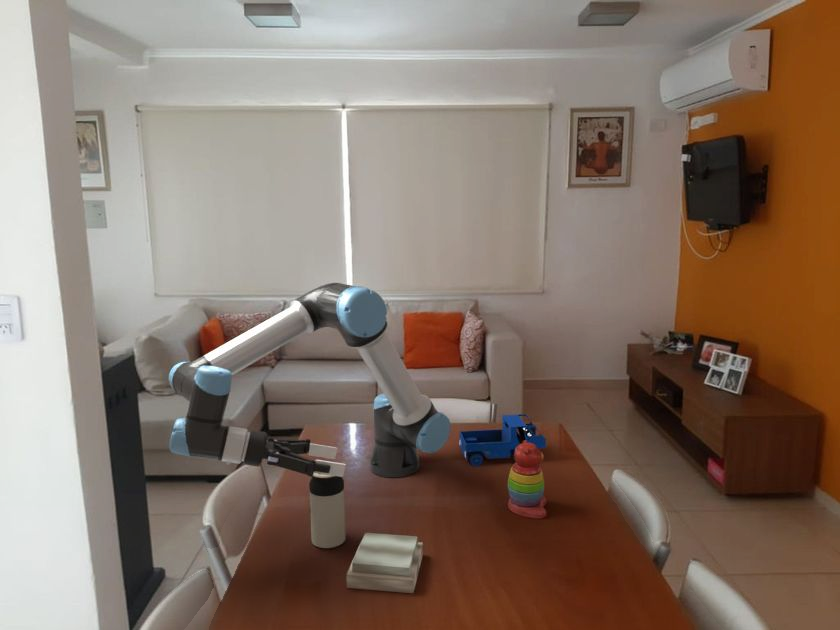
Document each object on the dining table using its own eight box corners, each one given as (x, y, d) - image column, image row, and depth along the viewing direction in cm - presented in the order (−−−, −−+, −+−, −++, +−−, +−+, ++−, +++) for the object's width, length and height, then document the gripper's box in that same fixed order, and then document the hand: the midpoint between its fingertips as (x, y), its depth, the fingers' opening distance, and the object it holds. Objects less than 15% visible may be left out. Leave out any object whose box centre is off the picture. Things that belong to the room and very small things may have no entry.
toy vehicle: (465, 467, 183) (466, 429, 180) (459, 451, 194) (459, 416, 192) (545, 463, 185) (547, 426, 183) (534, 448, 197) (535, 412, 195)
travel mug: (351, 534, 145) (349, 464, 142) (336, 552, 138) (333, 478, 135) (321, 528, 148) (319, 460, 145) (305, 546, 141) (302, 473, 137)
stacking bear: (546, 520, 152) (548, 453, 148) (505, 516, 154) (507, 450, 150) (546, 499, 162) (548, 437, 159) (508, 496, 164) (509, 434, 161)
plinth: (362, 550, 139) (362, 530, 138) (422, 554, 137) (422, 534, 136) (346, 587, 125) (346, 565, 124) (413, 593, 123) (413, 571, 122)
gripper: (243, 448, 144) (329, 462, 150) (240, 481, 120) (344, 496, 126) (250, 417, 144) (336, 432, 150) (248, 444, 120) (352, 461, 126)
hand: (340, 461), depth 138 cm, fingers open, 13 cm apart
